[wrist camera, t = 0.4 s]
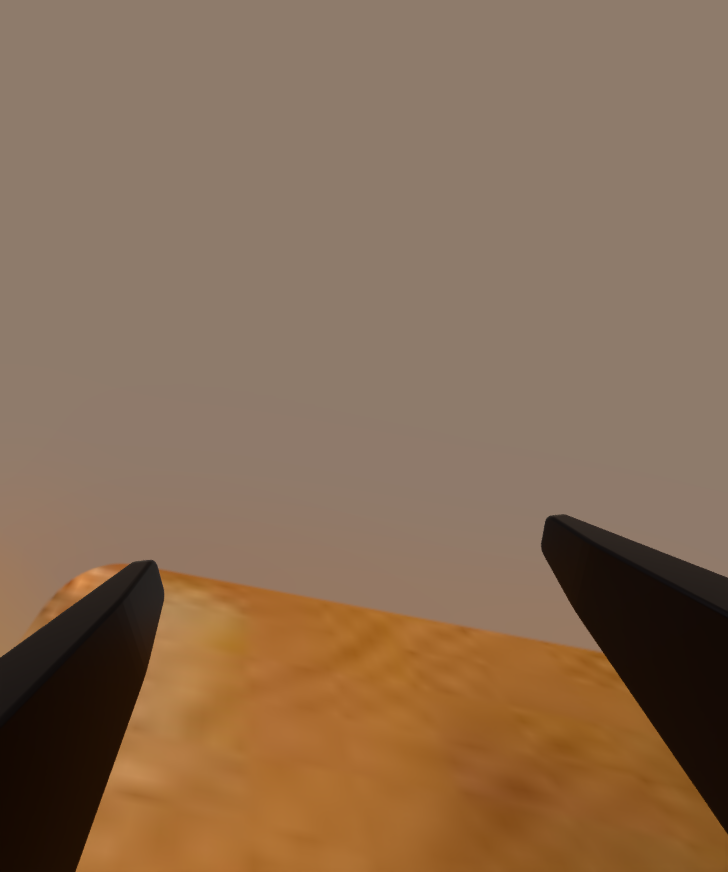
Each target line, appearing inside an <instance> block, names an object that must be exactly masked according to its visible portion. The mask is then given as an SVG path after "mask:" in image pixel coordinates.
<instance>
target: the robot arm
mask: <svg viewBox="0 0 728 872" xmlns="http://www.w3.org/2000/svg"><path fill="white" fill-rule="evenodd" d="M541 548H542V552H543V554H544V556H545V558H546V560H547V562H548V564H549V565H550V567H551V569H552V571H553V573H554V574H555V576H556V578H557V580H558V582H559V584H560V585H561V587H562V589H563V591H564V593H565V594H566V596H567V598H568V600H569V601H570V603H571V605H572V607H573V608H574V610H575V612H576V613H577V615H578V616H579V618H580V619H581V621H582V622H583V624H584V625H585V626H586V628H587V629H588V631H589V632H590V634H591V635H592V637H593V638H594V640H595V641H596V642H597V644H598V646H599V647H600V648H601V650H602V651H603V653H604V654H605V656H606V657H607V659H608V660H609V662H610V663H611V665H612V666H613V667H614V669H615V670H616V672H617V673H618V675H619V676H620V678H621V679H622V681H623V682H624V684H625V685H626V686H627V688H628V689H629V691H630V692H631V694H632V695H633V697H634V698H635V700H636V701H637V703H638V704H639V705H640V707H641V708H642V710H643V711H644V713H645V714H646V716H647V717H648V719H649V720H650V722H651V723H652V724H653V726H654V727H655V729H656V730H657V732H658V733H659V735H660V736H661V738H662V739H663V741H664V742H665V743H666V745H667V746H668V748H669V749H670V751H671V752H672V754H673V755H674V757H675V758H676V760H677V761H678V762H679V764H680V765H681V767H682V768H683V770H684V771H685V773H686V774H687V776H688V777H689V779H690V780H691V781H692V783H693V784H694V786H695V787H696V789H697V790H698V792H699V793H700V795H701V796H702V798H703V799H704V800H705V802H706V803H707V805H708V806H709V808H710V809H711V811H712V812H713V814H714V815H715V817H716V818H717V819H718V821H719V822H720V824H721V825H722V827H723V828H724V830H725V831H726V833H727V834H728V578H727V577H725V576H722V575H719V574H717V573H714V572H712V571H709V570H707V569H704V568H701V567H699V566H696V565H694V564H691V563H688V562H686V561H683V560H681V559H678V558H676V557H673V556H670V555H668V554H665V553H662V552H660V551H658V550H655V549H653V548H650V547H648V546H645V545H642V544H640V543H637V542H634V541H632V540H629V539H627V538H624V537H622V536H619V535H617V534H614V533H612V532H609V531H606V530H603V529H601V528H599V527H596V526H594V525H591V524H588V523H586V522H583V521H581V520H578V519H576V518H573V517H570V516H568V515H564V514H562V515H553V516H549V517H548V518H547V519H546V521H545V525H544V531H543V537H542V542H541ZM163 602H164V588H163V585H162V581H161V577H160V574H159V570H158V566H157V564H156V562H155V561H153V560H145V561H136V562H132V563H131V564H129V565H128V566H127V567H125V568H124V569H122V570H121V571H120V572H118V573H117V574H115V575H114V576H113V577H111V578H110V579H109V580H107V581H106V582H104V583H103V584H102V585H100V586H99V587H97V588H96V589H95V590H93V591H92V592H91V593H89V594H88V595H86V596H85V597H84V598H82V599H81V600H79V601H78V602H77V603H75V604H74V605H73V606H71V607H70V608H68V609H67V610H66V611H64V612H63V613H61V614H60V615H59V616H57V617H56V618H55V619H53V620H52V621H50V622H49V623H48V624H46V625H45V626H43V627H42V628H41V629H39V630H38V631H36V632H35V633H34V634H32V635H31V636H30V637H28V638H27V639H25V640H24V641H23V642H21V643H20V644H18V645H17V646H16V647H14V648H13V649H12V650H10V651H9V652H7V653H6V654H5V655H3V656H2V657H0V872H76V869H77V866H78V863H79V860H80V858H81V855H82V852H83V849H84V846H85V844H86V841H87V838H88V835H89V832H90V830H91V827H92V824H93V821H94V818H95V815H96V813H97V810H98V807H99V804H100V801H101V799H102V796H103V793H104V790H105V787H106V785H107V782H108V779H109V776H110V773H111V771H112V768H113V765H114V762H115V759H116V757H117V754H118V751H119V748H120V745H121V743H122V740H123V737H124V734H125V731H126V729H127V726H128V723H129V720H130V717H131V715H132V712H133V709H134V706H135V703H136V701H137V698H138V695H139V692H140V689H141V687H142V684H143V681H144V678H145V675H146V671H147V668H148V664H149V660H150V656H151V652H152V648H153V643H154V639H155V635H156V631H157V627H158V623H159V619H160V614H161V610H162V606H163Z"/></svg>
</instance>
